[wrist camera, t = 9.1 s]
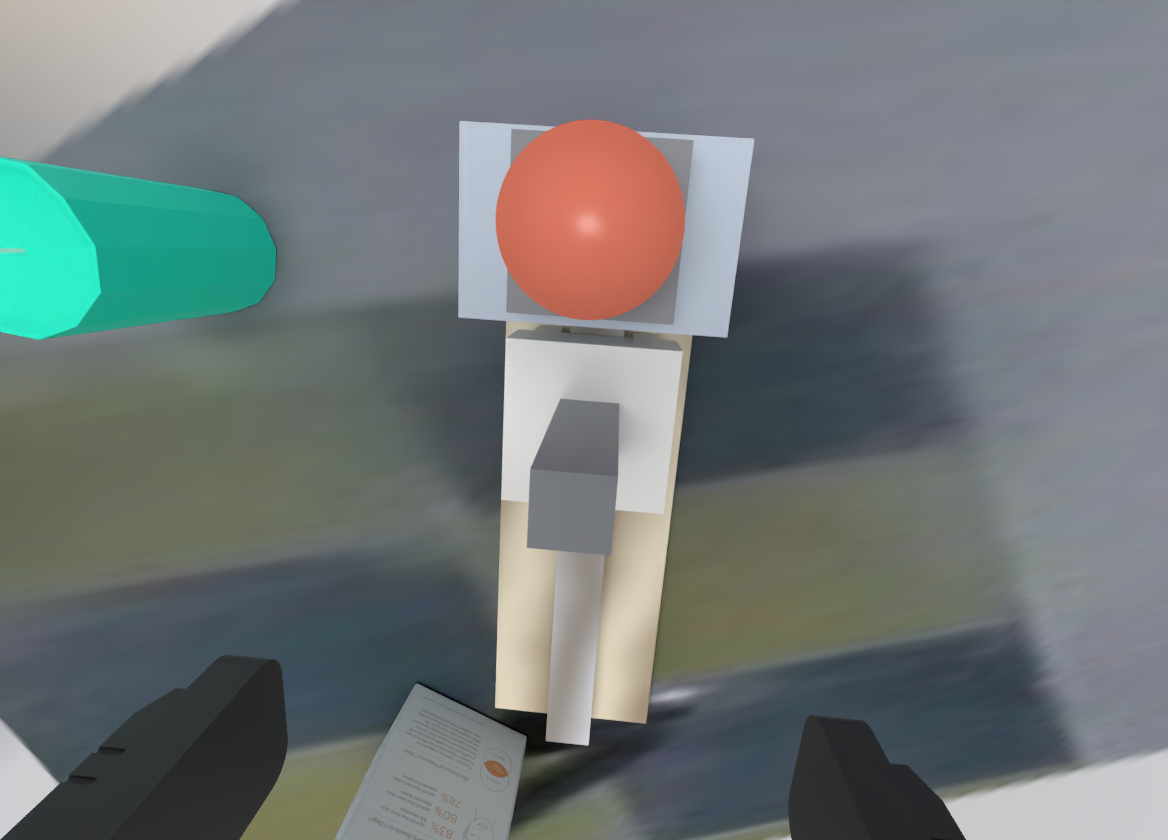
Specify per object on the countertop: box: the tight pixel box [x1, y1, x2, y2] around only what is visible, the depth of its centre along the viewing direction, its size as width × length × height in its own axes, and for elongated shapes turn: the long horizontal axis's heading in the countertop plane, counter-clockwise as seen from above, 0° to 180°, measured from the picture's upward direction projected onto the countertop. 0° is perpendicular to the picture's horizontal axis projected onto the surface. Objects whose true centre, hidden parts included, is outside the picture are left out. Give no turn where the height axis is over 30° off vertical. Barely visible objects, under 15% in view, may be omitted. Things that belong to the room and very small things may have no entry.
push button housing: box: [458, 121, 754, 338], centre depth 22 cm, size 9×6×12 cm, turn 86°
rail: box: [495, 321, 693, 745], centre depth 30 cm, size 9×24×4 cm, turn 176°
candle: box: [0, 157, 277, 340], centre depth 23 cm, size 6×6×12 cm
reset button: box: [495, 120, 685, 320], centre depth 15 cm, size 4×4×3 cm
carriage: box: [501, 326, 683, 556], centre depth 22 cm, size 7×7×13 cm
